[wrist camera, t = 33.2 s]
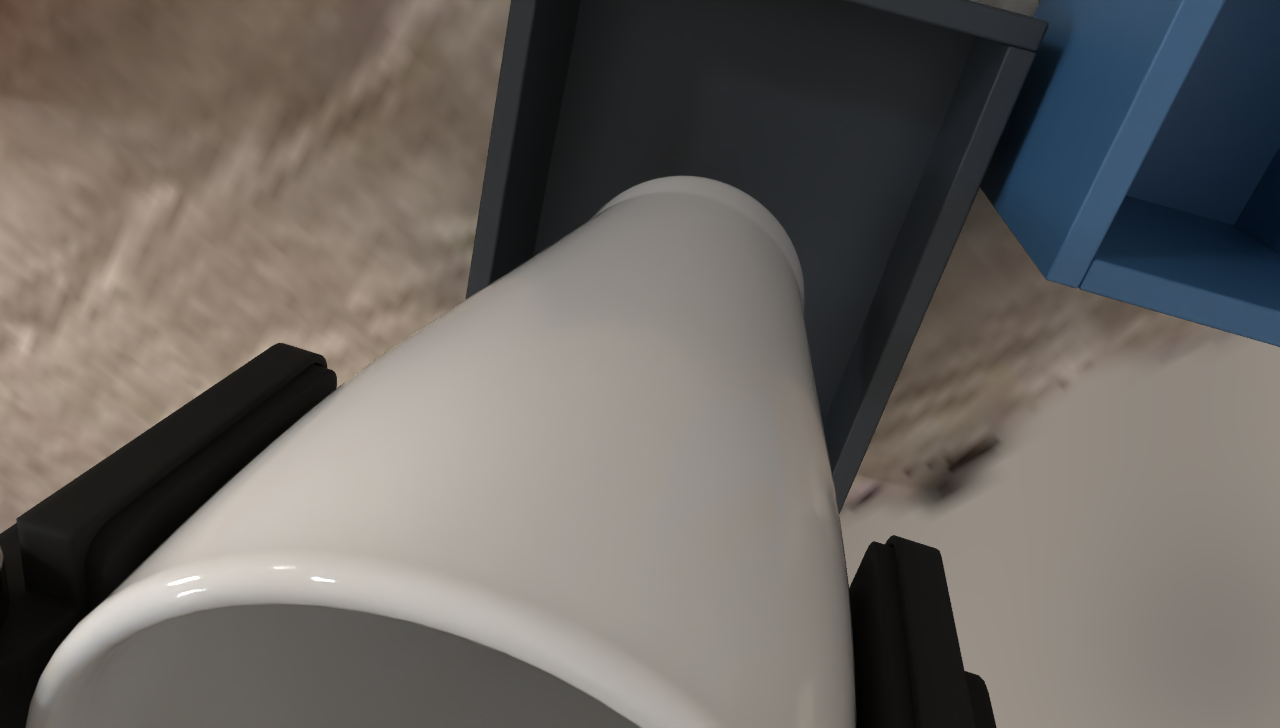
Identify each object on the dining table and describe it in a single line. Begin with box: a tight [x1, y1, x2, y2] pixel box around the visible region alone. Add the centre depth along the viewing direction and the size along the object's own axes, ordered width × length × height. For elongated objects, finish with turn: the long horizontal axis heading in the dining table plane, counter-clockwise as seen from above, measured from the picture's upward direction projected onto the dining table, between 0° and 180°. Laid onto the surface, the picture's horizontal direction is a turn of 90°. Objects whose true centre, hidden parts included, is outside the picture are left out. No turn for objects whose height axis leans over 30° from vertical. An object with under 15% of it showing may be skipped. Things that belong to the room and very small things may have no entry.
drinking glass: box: [25, 176, 856, 728], centre depth 13 cm, size 7×7×15 cm
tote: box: [466, 0, 1049, 514], centre depth 23 cm, size 14×11×5 cm
